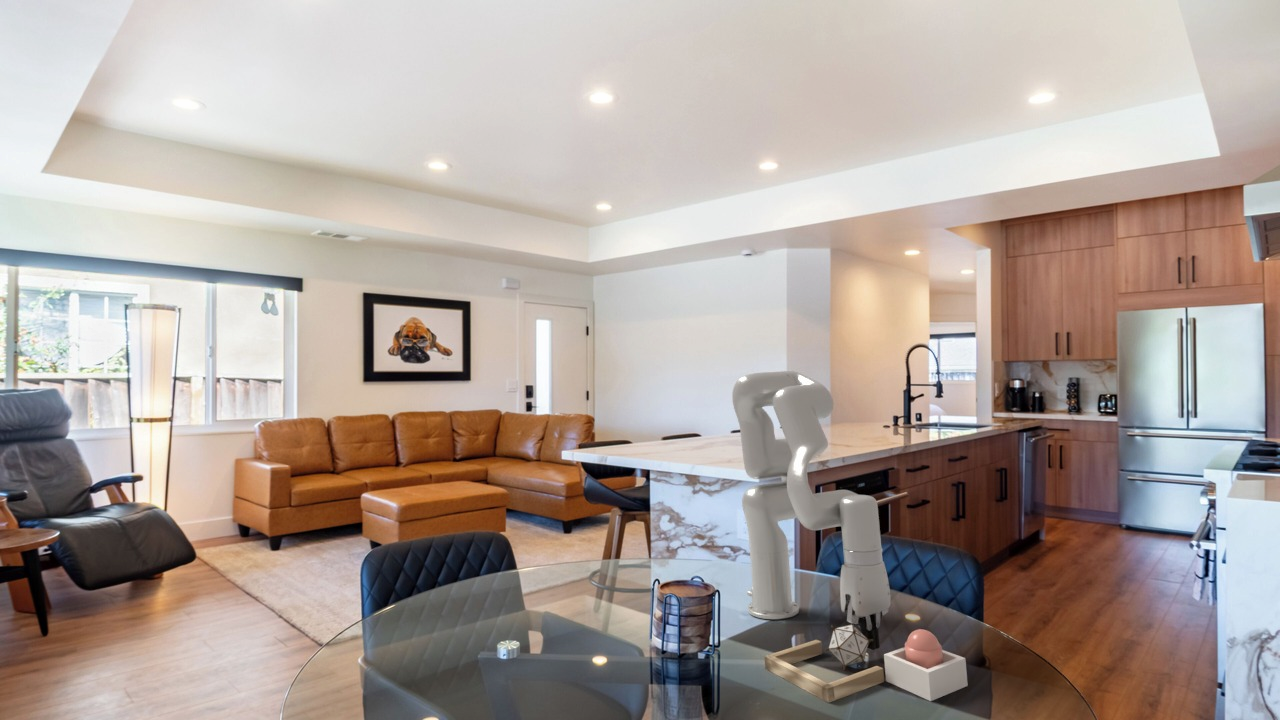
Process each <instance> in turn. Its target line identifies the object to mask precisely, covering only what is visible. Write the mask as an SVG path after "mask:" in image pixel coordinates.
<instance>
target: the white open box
mask: <svg viewBox="0 0 1280 720" xmlns="http://www.w3.org/2000/svg"><path fill="white" fill-rule="evenodd" d="M942 656H943V663H942V664H940V665H937V666H934V667H932V668H929V669H926V668H923V667H921V666H918V665H916V664H913V663H911V662H908V661H906V653H905V646H904V647H901V648H898V649H895V650H893V651H890V652H887V653H884V654H883V661H884V672H885V681H886V682H887V683H889V684H892V685H894V686H896V687H899V688H901V689H902V690H905V691H907V692H909V693H911V694H914V695H916V696H918V697H920V698H922V699H925V700H927V701H929V702H932V701H933V702H934V701H935V700H937V699H939V698H941V697H943V696H947V695H949V694H951V693H954V692H957V691H959V690H961V689H963V688H965V687H968V674H967V672H968V671H967V662H966V657H963V656H961V655H958V654H955V653H952V652H949V651H947V650H944V649H942Z"/></svg>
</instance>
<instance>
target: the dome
mask: <svg viewBox="0 0 1280 720" xmlns="http://www.w3.org/2000/svg"><path fill="white" fill-rule="evenodd" d="M904 647H905V653H906V661H908V662H911V663H913V664H916V665H918V666H921V667H923V668H926V669H929V668H932V667H934V666H937V665H940V664H942V663H943V656H942V650H943V648H942V647H943V646H942V644H941V643H939V641H938V639H937V637H936V636H935V635H934V634H933V633H932V632H931V631H929V630H926V629H921V628H919V629H915V630H914V631H911V633H910V634H909V635H908V637H907V640H906V641H905V642H904Z"/></svg>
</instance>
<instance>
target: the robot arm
mask: <svg viewBox="0 0 1280 720" xmlns="http://www.w3.org/2000/svg"><path fill="white" fill-rule="evenodd" d="M731 398H732V404H733V409H734V412H735V415H736V419H737V422H738V424H739V429H740V432H739V433H740V441H741V448H742V449H741V450H742V458H743V465H744V469H745V473H746V475H747V476H748V477H749V478H751V479H754V480H764V479H765V480H767V479H773V478H781V481H780V482H779V481H777V482H771V483H764V484H758V485H755V486H751V487H750V488H748V489H747V490H746V491H745V492H744V493H743V495H742V498H741V499H742V500H741V503H742V504H741V505H742V510H743V514H744V519H745V521H746V527H747V533H748V534H747V535H748V545H749V556H750V557H749V558H750V568H751V569H750V570H751V571H750V572H751V582H752V583H751V584H752V586H751V589H749V590H747V592H746V594H747V596H749V597H750V598H751V603H749V604H748V605H747V612H748V613H749V614H750V615H751V616H753V617H756V618H759V619H765V620H784V619H789V618H793V617H795V616H796V615H797V614H799V612H800V607H799V604H798V603H796V602H795V601H793V594H792V581H791V579H792V578H791V568H790V566H791V565H790V555H789V553H790V552H789V543H788V539H787V535H786V534H785V532H784V530H783V529H782V528H781V527H780V524H779V522H782V521H787V520H794V519H797V520H798V521H799V522H800V524H801V525H802V526H803V527H804V528H806V529H807V530H811V531H820V530H826V529H830V528H836V527H841V539H842V540H841V541H842V547H843V548H842V549H843V560H844V561H843V562H844V564H842V565H841V567H840V568H841V569H840V579H839V581H840V582H839V594H840V596H839V598H840V599H839V600H840V608H841V612H842V613H845V614H847V615H846V622H848V623H850V624H853V625H854V624H855V625H857V628H858V627H859V628H860V632H861V633H862V634H863V635H864V636H865V637H866V638H867V639H868V640H870V639H873V641H872V642H869V644H868V648H867V649H869V650H871V651H872V650H873V651H875V650H877V649H879V648H880V647H881V646H880V637H879V629H880V626H881V620H882V617H884V616H885V615H886V614H888V613H889V608H890V606H891V592H890V591H891V589H890V583H889V582H890V581H889V577H888V574H887V569H886V564H885V561H883V552H884V549H883V548H882V539H881V530H880V528H881V527H880V519H879V518H880V517H879V508H878V507H879V505H878V501H877V500H876V498H874V496H871V495H868V494H867V495H866V494H858V493H857V492H854V491H852V490H848V489H837V490H830V491H824V492H817V493H813V491H812V489H811V486H810V484H809V479H808V478H809V477H808V466H809V464H810V462H811V461H812V460H814V459H815V458H817V457H819V456H820V455H821V454H823V453H824V452H825V451H826V450H827V448H828V445H829V442H828V439H827V436H826V434H825V432H824V430H823V427H822V426H821V422H820V421H819V420H820V419H821V420H822V419H826V418H828V417H829V416H831V414H832V412H833V410H834V399H833V396H832V394H831V392H830V391H829V390H828V388H827V387H826V386H825V385H823V384H822V383H821V382H819V381H817V380H814V379H813V378H811V377H808V376H806V375H804V374H802V373H801V372H797V371H794V370H784V371H782V370H781V371H765V372H755V373H750V374H745V375H742V376H741V377H739V378H738V379H737V380H736V381H735V383H734V386H733V388H732V397H731ZM763 407H773V410H774V412H775V415H776V418H777V420H778V423H779V425H780V428H781V430H782V433H783V435H784V437H785V438H778V439H776V436H775V425H774V422H773V420H772V418H771V417H770V415H769V414H768V412H767V411H766V410H765V409H764V408H763Z"/></svg>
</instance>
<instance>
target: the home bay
mask: <svg viewBox="0 0 1280 720" xmlns="http://www.w3.org/2000/svg"><path fill="white" fill-rule="evenodd" d="M819 655H823V642H822V641H821V640H818V639H814V640H811V641H808V642H805V643H802V644H799V645H796V646H793V647H790V648H786V649H783V650H780V651H777V652H773V653H769V654H767V655H765V656H764V655H763V656H764V669H765V670H767V671H769V672H771V673H772V674H774V675H776V676H778V677H780V678H782V679H783V680H785V681H787V682H790V683H791V684H793V685H795V686H796V687H798V688H800V689H802V690H804V691H806V692H808V693H810V694H811V695H813V696H815V697H816V698H819V699H820V700H823V701H824V702H826V703H828V704H830V703H832V702H835V701H837V700H839V699H842V698H845V697H847V696H850V695H853V694H856V693H858V692H859V693H860V692H861V691H864V690H866V689H869V688H871V687H874V686H876V685H880V684H883V683H884V682H885V678H884V677H885V676H884V668H883V667H881V666H878V665H875V666H872V667H870V668H867V669H864V670H861V671H859V672H856V673H852V674H850V675H848V676H845V677H842V678H839V679H837V680H834V681H831V682H829V683H828V682H826V681H824V680H821V679H820V678H819V677H816V676H814V675H812V674H810V673H808V672H806V671H804V670H802V669H800V668H798V667H796V666H794V665H792V664H795V663H799V662H802V661H804V660H808V659H812V658H813V657H817V656H819Z"/></svg>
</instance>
